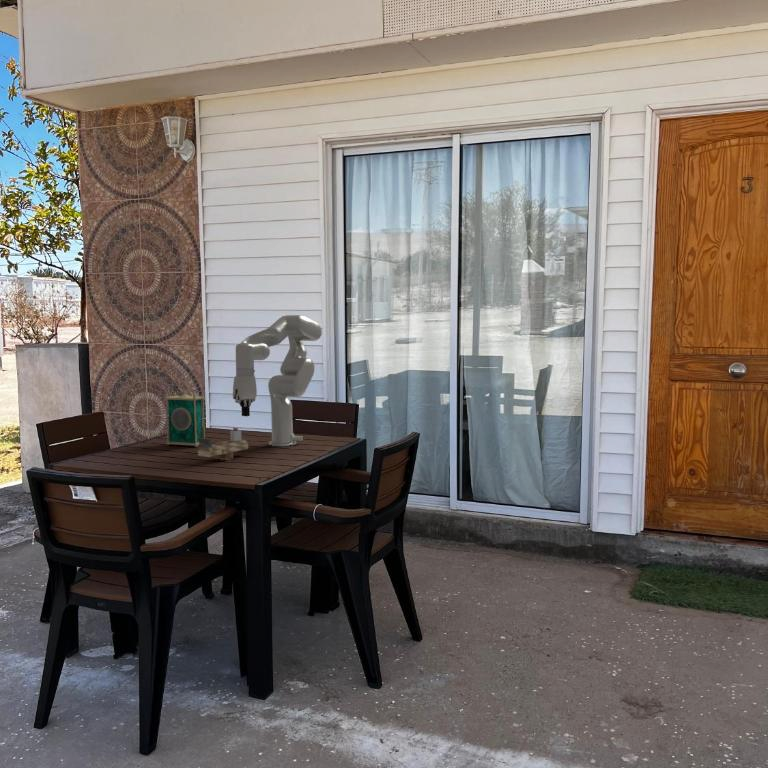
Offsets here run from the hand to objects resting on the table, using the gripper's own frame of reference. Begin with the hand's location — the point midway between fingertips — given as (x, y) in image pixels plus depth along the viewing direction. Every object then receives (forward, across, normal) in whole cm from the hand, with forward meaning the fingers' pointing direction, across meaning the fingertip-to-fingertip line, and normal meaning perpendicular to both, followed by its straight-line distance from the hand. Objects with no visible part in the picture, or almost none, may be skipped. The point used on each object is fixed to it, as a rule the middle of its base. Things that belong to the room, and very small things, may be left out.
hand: (245, 415), depth 321 cm
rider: (+11, +6, 0) cm, 13 cm away
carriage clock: (+17, -1, -40) cm, 43 cm away
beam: (+17, +13, 0) cm, 21 cm away
